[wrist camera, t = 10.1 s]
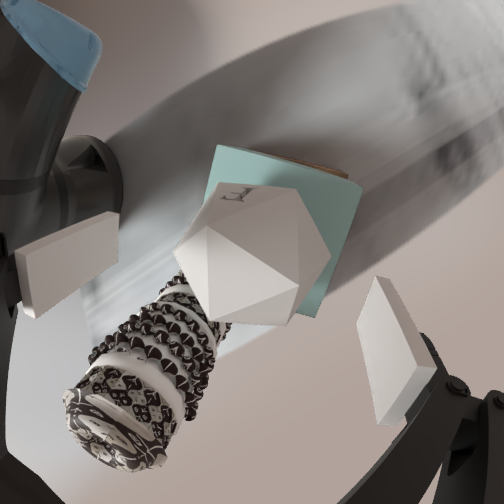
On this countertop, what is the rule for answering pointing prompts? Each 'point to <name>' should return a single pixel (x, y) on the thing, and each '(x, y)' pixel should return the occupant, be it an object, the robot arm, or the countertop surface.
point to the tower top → (311, 192)
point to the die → (252, 254)
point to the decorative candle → (145, 380)
